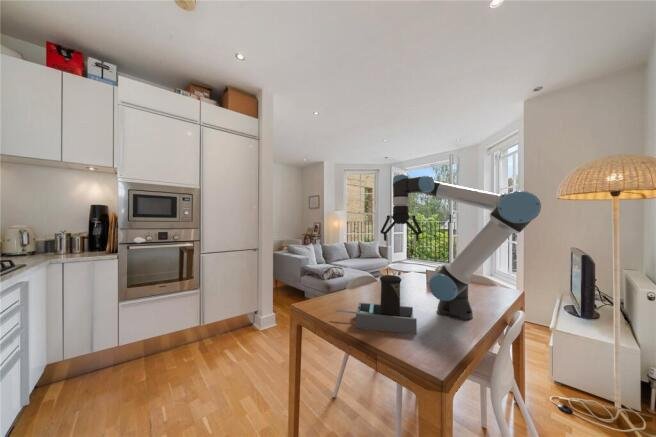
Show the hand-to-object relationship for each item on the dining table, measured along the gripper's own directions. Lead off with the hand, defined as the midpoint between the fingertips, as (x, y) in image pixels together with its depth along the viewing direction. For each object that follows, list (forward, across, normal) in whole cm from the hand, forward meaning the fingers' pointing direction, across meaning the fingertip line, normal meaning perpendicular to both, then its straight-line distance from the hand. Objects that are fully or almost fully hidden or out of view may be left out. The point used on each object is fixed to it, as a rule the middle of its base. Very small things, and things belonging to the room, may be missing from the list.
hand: (400, 247), depth 120 cm
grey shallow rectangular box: (+31, +9, +18) cm, 37 cm away
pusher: (+30, +22, +18) cm, 41 cm away
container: (+31, +7, +18) cm, 36 cm away
